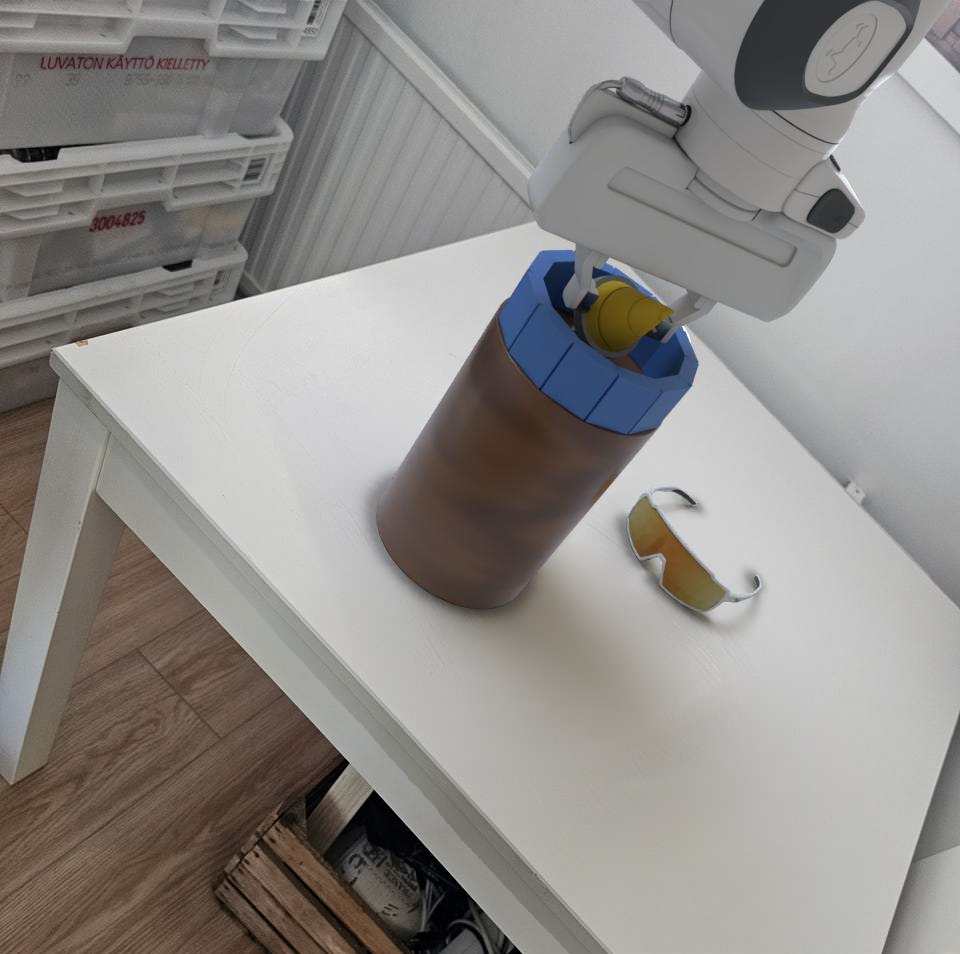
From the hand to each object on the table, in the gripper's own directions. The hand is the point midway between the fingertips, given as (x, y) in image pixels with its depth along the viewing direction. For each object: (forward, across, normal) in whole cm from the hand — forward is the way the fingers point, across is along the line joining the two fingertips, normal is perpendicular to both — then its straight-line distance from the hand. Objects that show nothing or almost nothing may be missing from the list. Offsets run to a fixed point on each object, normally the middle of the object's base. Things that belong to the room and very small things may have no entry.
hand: (614, 320), depth 70 cm
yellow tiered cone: (+3, 0, 0) cm, 3 cm away
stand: (+24, 0, 0) cm, 24 cm away
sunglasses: (+24, +27, +5) cm, 37 cm away
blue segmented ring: (+4, 0, 0) cm, 4 cm away
